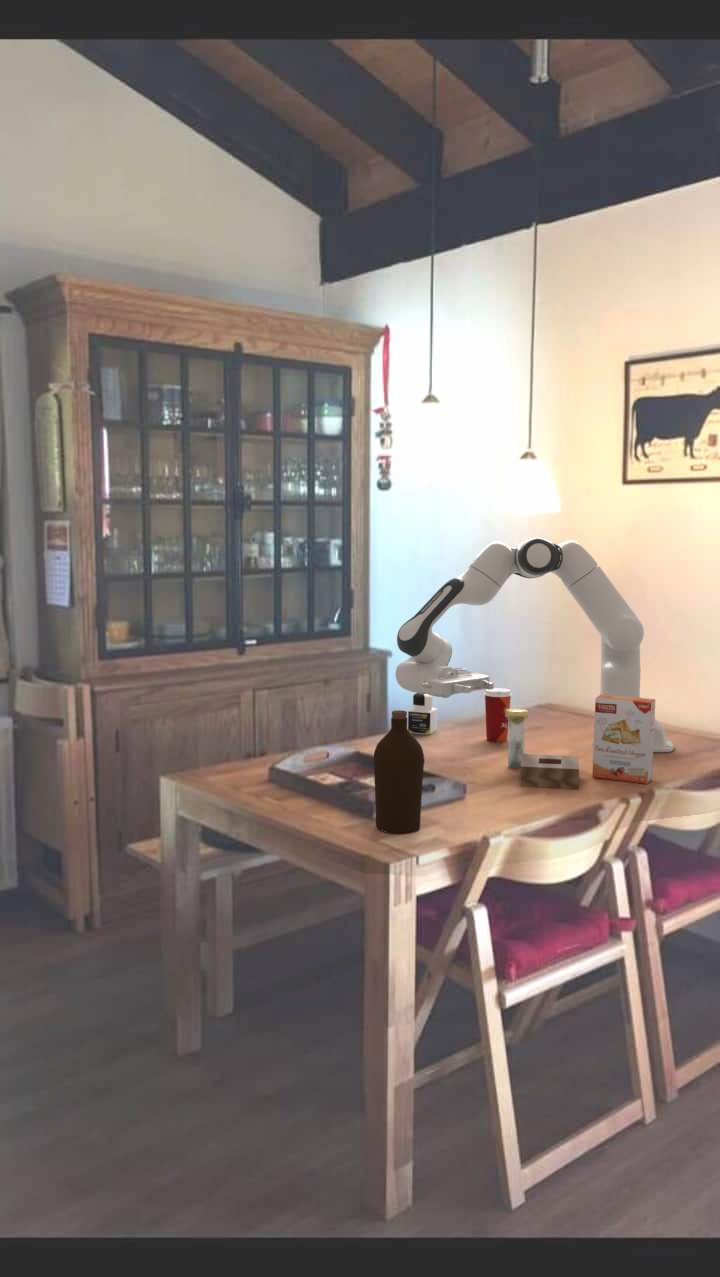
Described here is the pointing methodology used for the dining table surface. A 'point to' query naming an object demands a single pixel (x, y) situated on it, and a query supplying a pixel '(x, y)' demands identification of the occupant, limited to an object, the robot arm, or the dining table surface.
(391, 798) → the olive oil
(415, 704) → the medicine bottle
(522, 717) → the pin
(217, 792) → the dining table surface
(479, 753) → the dining table surface
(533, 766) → the block
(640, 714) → the cracker box
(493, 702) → the coffee cup
